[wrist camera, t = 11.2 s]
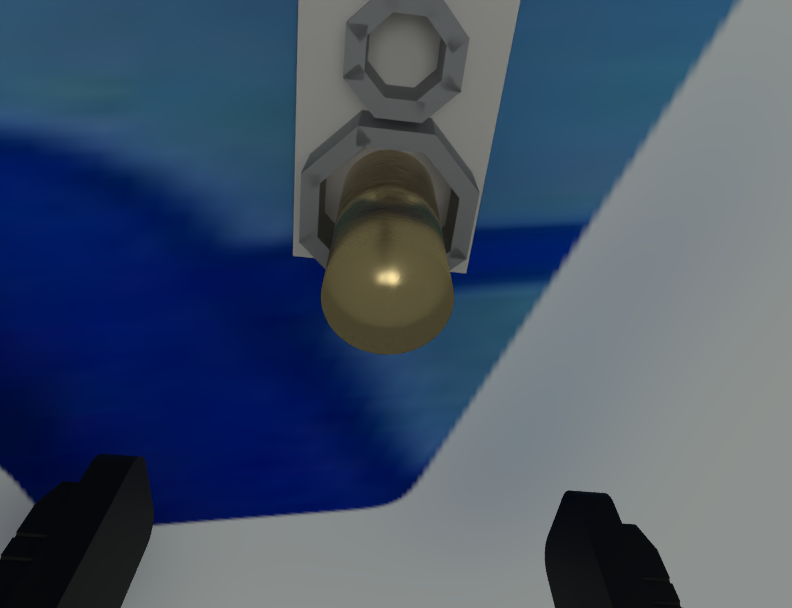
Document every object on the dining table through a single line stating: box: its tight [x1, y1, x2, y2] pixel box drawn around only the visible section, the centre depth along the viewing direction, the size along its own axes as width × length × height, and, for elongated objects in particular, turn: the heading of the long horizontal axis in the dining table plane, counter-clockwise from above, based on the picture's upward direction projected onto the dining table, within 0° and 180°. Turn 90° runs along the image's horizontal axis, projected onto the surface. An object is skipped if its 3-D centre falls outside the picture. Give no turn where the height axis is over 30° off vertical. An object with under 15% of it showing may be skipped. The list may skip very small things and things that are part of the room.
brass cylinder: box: [321, 150, 454, 354], centre depth 23 cm, size 4×4×10 cm
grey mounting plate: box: [293, 0, 520, 273], centre depth 25 cm, size 13×9×4 cm
